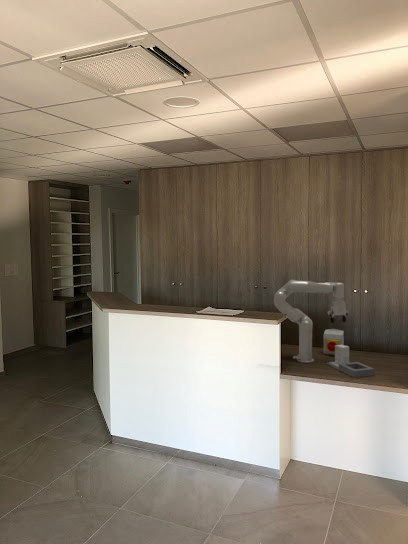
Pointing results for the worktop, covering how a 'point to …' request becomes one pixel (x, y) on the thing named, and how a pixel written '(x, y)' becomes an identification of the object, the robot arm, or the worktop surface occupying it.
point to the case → (353, 369)
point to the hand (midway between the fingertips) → (338, 322)
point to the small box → (341, 354)
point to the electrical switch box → (332, 340)
